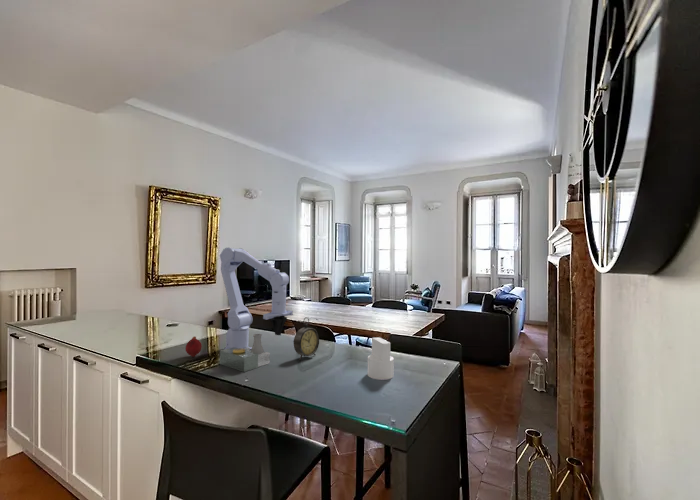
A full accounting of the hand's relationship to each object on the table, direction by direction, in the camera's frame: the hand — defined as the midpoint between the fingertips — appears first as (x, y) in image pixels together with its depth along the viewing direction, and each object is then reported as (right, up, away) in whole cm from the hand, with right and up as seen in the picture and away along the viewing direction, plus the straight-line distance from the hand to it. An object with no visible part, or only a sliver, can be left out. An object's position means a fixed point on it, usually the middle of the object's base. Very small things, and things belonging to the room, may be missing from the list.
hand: (277, 334), depth 140 cm
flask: (-6, -8, -9) cm, 14 cm away
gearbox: (-9, -8, -14) cm, 18 cm away
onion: (-32, -7, -6) cm, 34 cm away
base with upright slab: (+40, -9, -23) cm, 47 cm away
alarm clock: (+12, -8, -4) cm, 15 cm away
